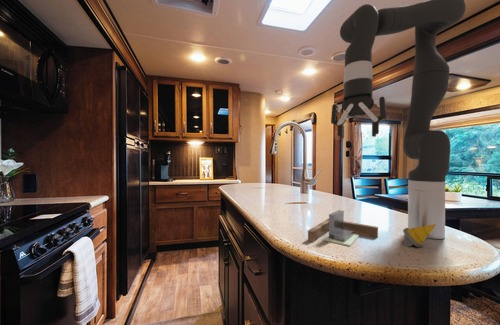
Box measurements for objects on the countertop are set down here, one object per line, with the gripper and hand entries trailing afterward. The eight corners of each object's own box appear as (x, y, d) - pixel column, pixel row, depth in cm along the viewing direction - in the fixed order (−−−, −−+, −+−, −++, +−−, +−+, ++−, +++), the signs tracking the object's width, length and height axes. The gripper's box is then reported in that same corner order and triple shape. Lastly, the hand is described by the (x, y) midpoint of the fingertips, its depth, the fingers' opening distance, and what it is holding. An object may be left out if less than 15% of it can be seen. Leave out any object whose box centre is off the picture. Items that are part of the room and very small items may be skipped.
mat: (334, 231, 72) (334, 229, 72) (359, 235, 67) (359, 234, 67) (322, 240, 63) (322, 238, 63) (350, 246, 59) (350, 244, 59)
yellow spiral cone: (406, 241, 64) (439, 223, 59) (412, 256, 59) (449, 237, 54) (392, 230, 64) (424, 212, 59) (397, 244, 59) (432, 225, 54)
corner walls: (328, 227, 76) (328, 218, 76) (377, 236, 67) (377, 226, 67) (307, 240, 62) (308, 230, 62) (366, 255, 53) (367, 243, 53)
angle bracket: (338, 231, 70) (338, 210, 70) (353, 235, 67) (353, 212, 67) (328, 238, 64) (329, 214, 64) (344, 242, 61) (345, 217, 61)
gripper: (388, 80, 61) (387, 137, 61) (336, 90, 70) (335, 140, 70) (384, 71, 56) (384, 134, 56) (328, 83, 64) (328, 137, 64)
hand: (357, 137), depth 63 cm, fingers open, 8 cm apart
